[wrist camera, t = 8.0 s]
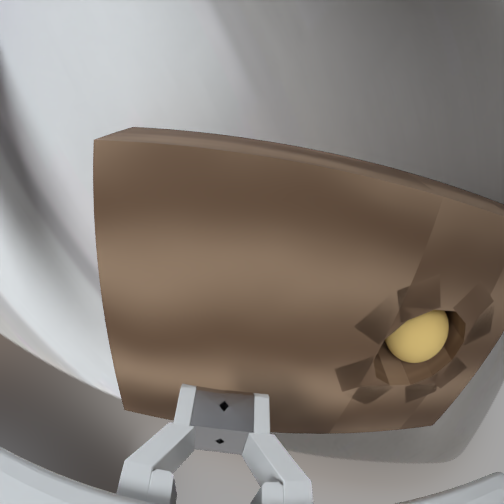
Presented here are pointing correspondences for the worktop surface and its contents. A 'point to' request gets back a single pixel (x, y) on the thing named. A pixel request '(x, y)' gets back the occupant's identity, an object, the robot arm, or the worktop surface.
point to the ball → (420, 337)
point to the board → (289, 278)
